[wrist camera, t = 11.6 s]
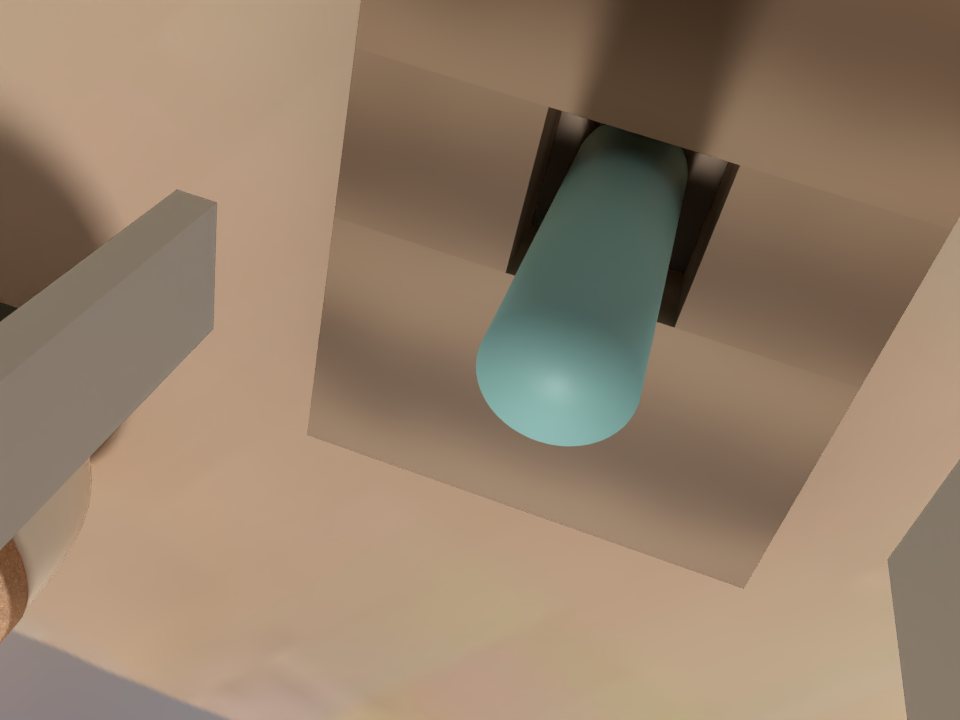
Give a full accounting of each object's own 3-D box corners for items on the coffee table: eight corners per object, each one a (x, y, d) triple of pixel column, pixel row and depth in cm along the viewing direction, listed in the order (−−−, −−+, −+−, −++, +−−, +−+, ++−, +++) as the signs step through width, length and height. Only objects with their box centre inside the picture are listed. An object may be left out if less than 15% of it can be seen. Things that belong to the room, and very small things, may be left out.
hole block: (453, -353, 19) (406, -368, 17) (1129, -180, 18) (1184, -170, 15) (343, 382, 31) (307, 435, 29) (746, 520, 30) (743, 588, 27)
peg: (589, 104, 24) (491, 284, 16) (703, 134, 23) (663, 335, 15) (563, 207, 25) (463, 418, 17) (668, 237, 25) (616, 466, 17)
